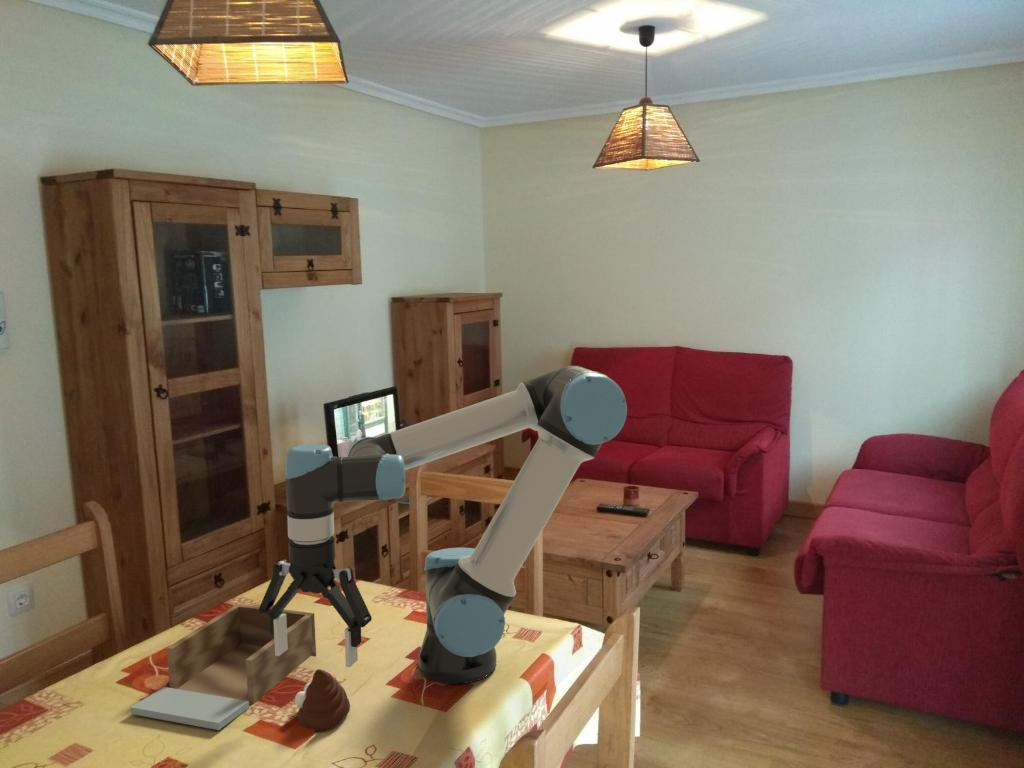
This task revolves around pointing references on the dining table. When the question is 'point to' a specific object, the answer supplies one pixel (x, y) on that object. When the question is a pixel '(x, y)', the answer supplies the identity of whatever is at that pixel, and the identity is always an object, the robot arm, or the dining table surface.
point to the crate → (239, 654)
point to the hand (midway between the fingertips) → (316, 658)
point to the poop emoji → (322, 703)
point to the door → (190, 708)
